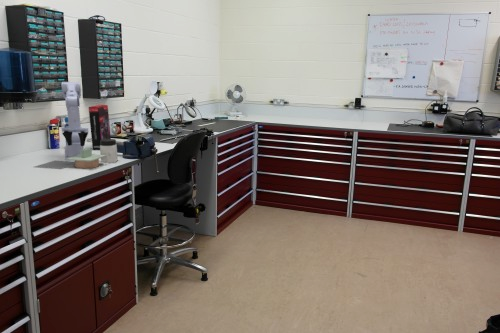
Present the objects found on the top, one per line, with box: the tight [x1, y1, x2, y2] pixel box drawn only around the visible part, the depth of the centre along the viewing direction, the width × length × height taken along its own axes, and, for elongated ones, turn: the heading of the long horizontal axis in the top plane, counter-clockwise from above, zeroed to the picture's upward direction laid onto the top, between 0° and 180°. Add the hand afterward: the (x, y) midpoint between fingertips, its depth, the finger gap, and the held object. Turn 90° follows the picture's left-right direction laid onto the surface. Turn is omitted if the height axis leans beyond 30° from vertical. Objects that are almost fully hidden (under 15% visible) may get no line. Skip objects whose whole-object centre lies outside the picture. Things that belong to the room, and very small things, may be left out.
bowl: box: [74, 159, 100, 169], centre depth 216 cm, size 11×11×4 cm
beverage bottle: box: [63, 116, 69, 145], centre depth 265 cm, size 8×8×20 cm
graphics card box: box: [88, 104, 112, 151], centre depth 266 cm, size 17×7×27 cm, turn 179°
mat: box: [34, 160, 75, 170], centre depth 218 cm, size 17×17×1 cm
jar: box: [99, 138, 118, 164], centre depth 227 cm, size 9×8×12 cm
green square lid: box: [65, 147, 106, 162], centre depth 215 cm, size 14×14×5 cm
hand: (76, 145), depth 217 cm, fingers open, 7 cm apart
